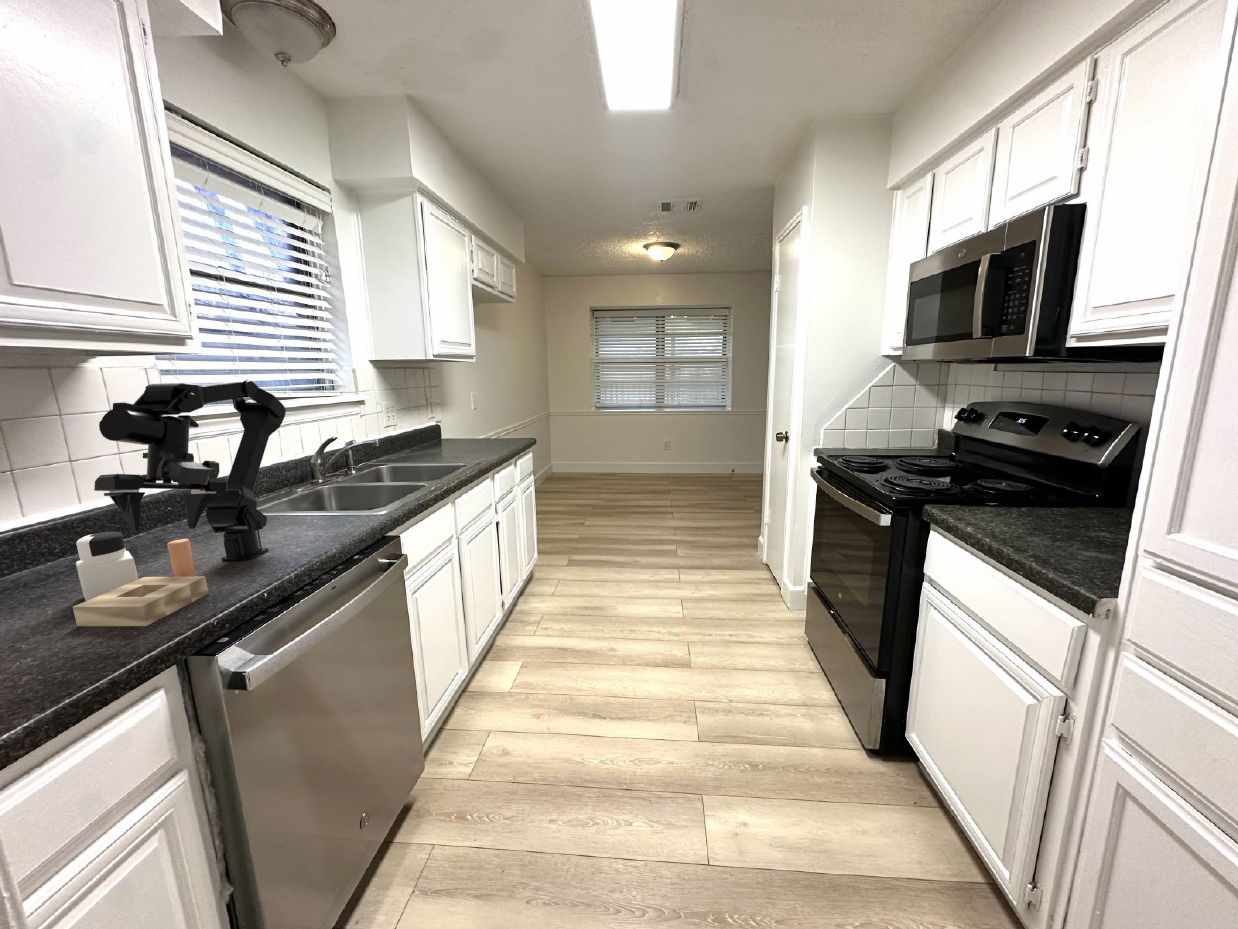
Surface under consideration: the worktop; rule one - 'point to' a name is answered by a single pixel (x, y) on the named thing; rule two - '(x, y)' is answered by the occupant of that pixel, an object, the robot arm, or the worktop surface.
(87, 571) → the medicine bottle
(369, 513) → the worktop surface
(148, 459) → the robot arm
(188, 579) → the socket block
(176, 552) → the peg
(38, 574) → the worktop surface
